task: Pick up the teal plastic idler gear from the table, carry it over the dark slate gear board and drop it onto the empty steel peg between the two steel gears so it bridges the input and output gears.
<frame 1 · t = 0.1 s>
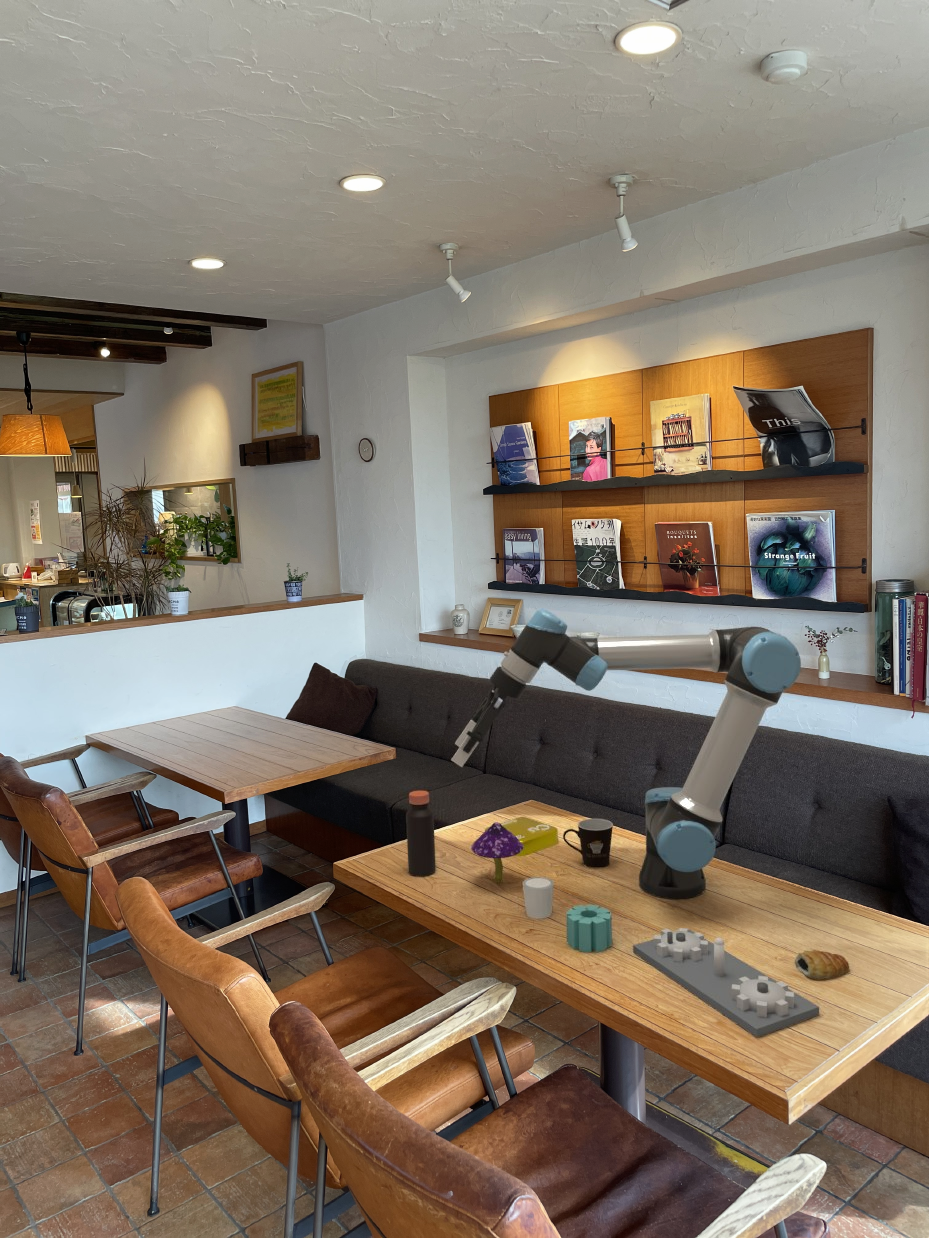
hand: (458, 754, 197), 36 cm above the table, tool tilted 35°, fingers open, 13 cm apart
gear board: (719, 981, 168), on the table
idler gear: (589, 941, 186), on the table
pastry: (819, 972, 171), on the table
bottle: (422, 872, 226), on the table
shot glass: (538, 913, 200), on the table
decorative mushroom: (498, 883, 217), on the table
coffee mug: (590, 862, 228), on the table
element tile: (521, 844, 244), on the table
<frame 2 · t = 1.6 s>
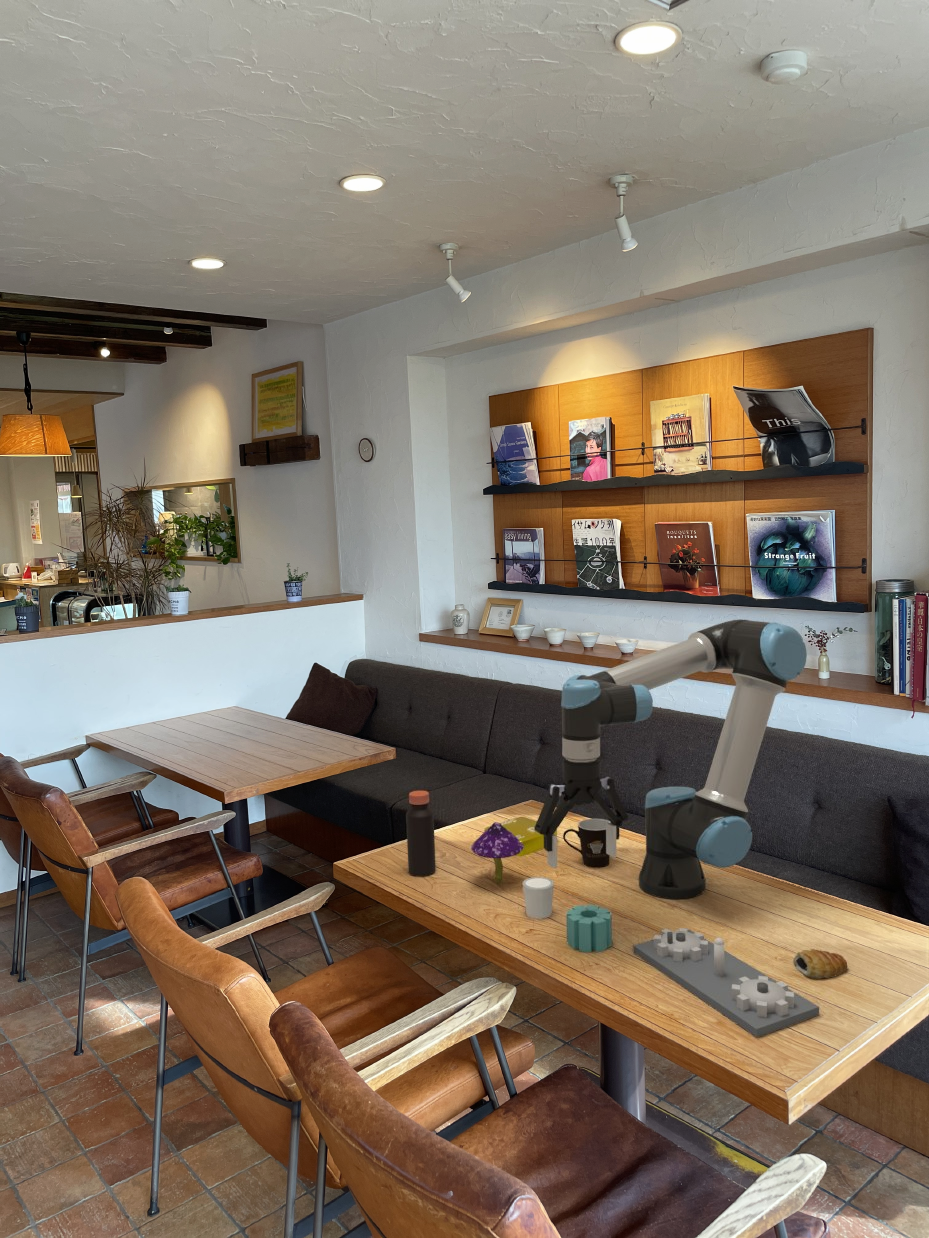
hand: (582, 860, 184), 17 cm above the table, tool pointing down, fingers open, 13 cm apart
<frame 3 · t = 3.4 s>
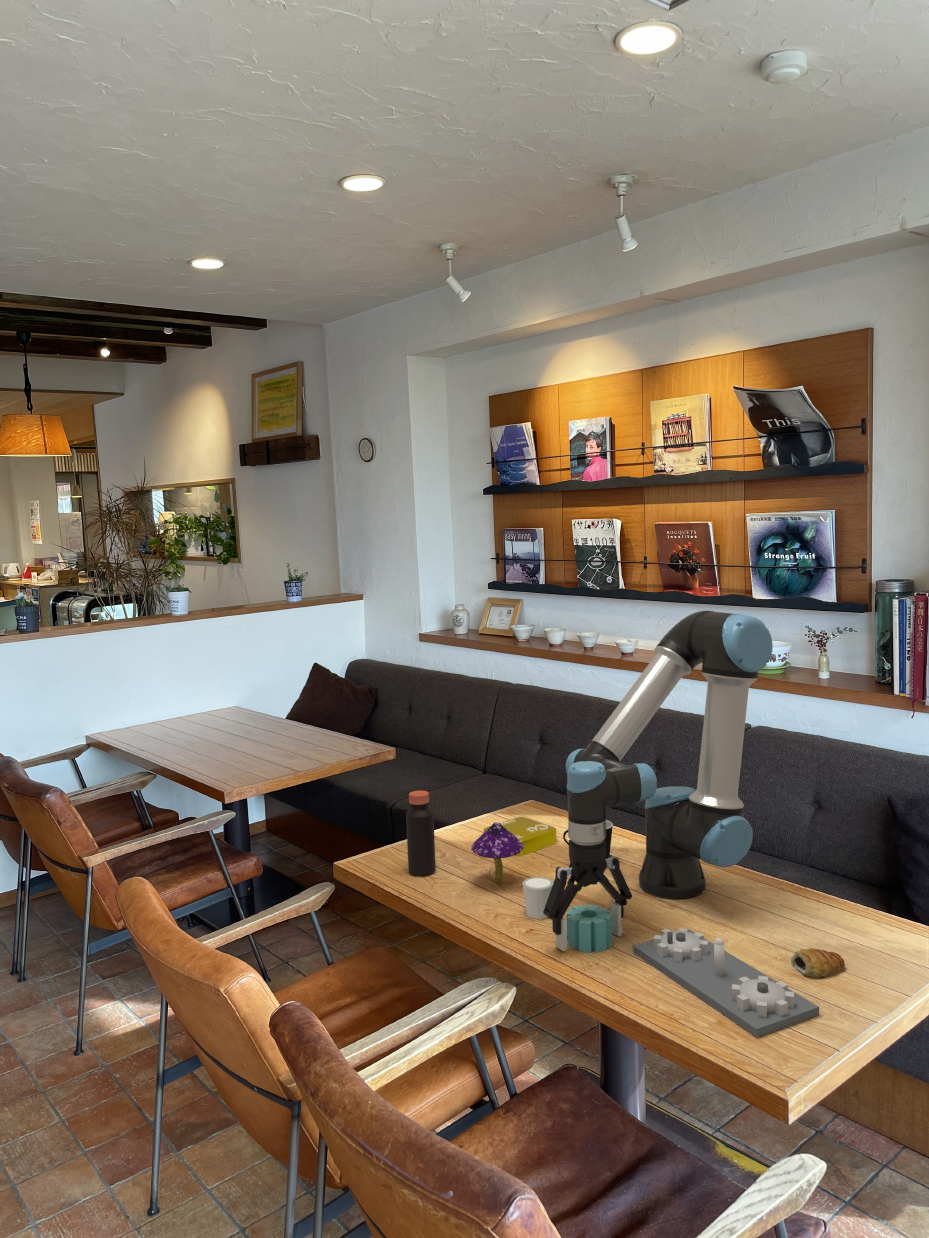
hand: (589, 941, 185), 0 cm above the table, tool pointing down, fingers open, 12 cm apart
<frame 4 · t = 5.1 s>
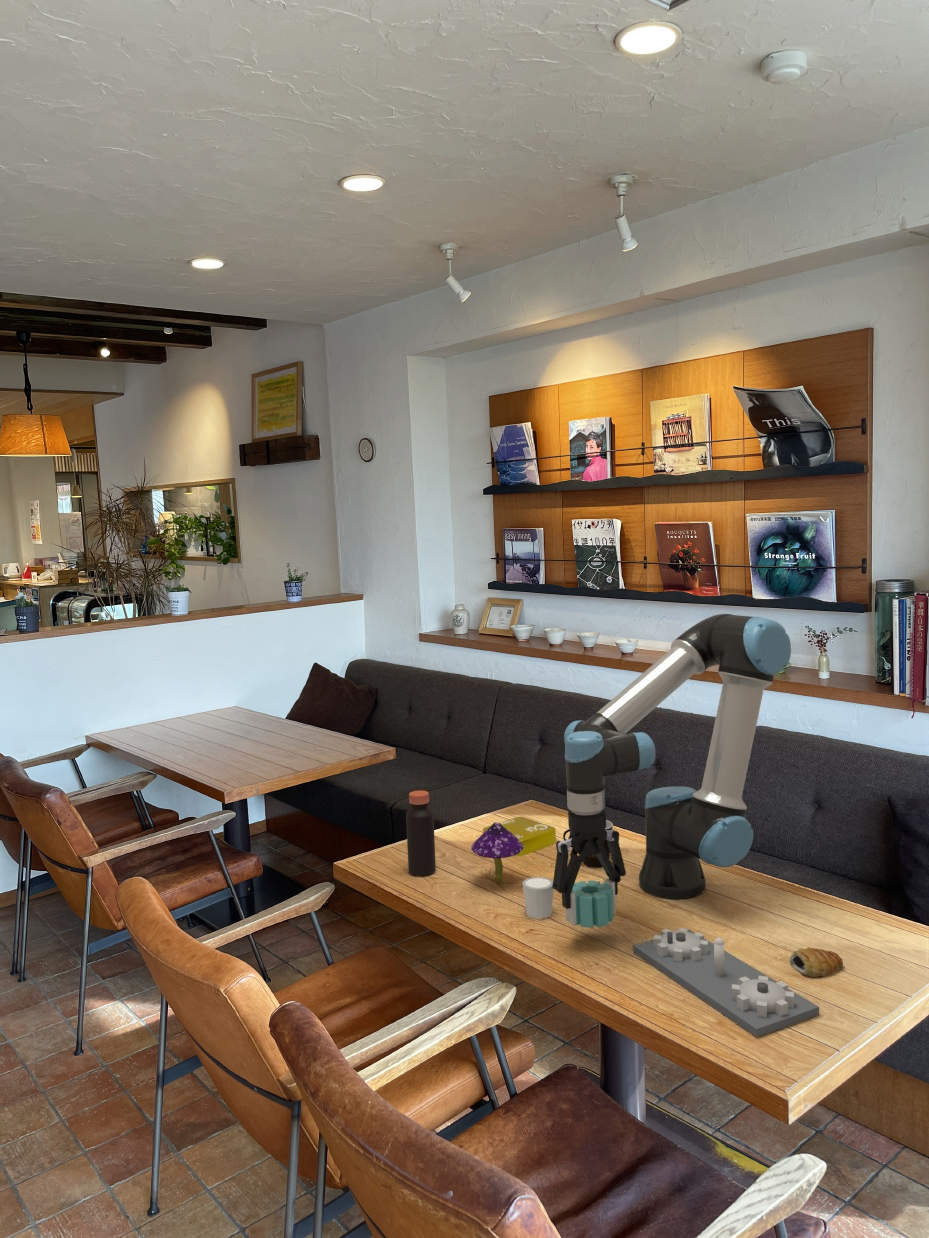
hand: (591, 916, 185), 5 cm above the table, tool pointing down, fingers closed on idler gear, 9 cm apart
idler gear: (591, 917, 185), point 5 cm above the table, touching gripper
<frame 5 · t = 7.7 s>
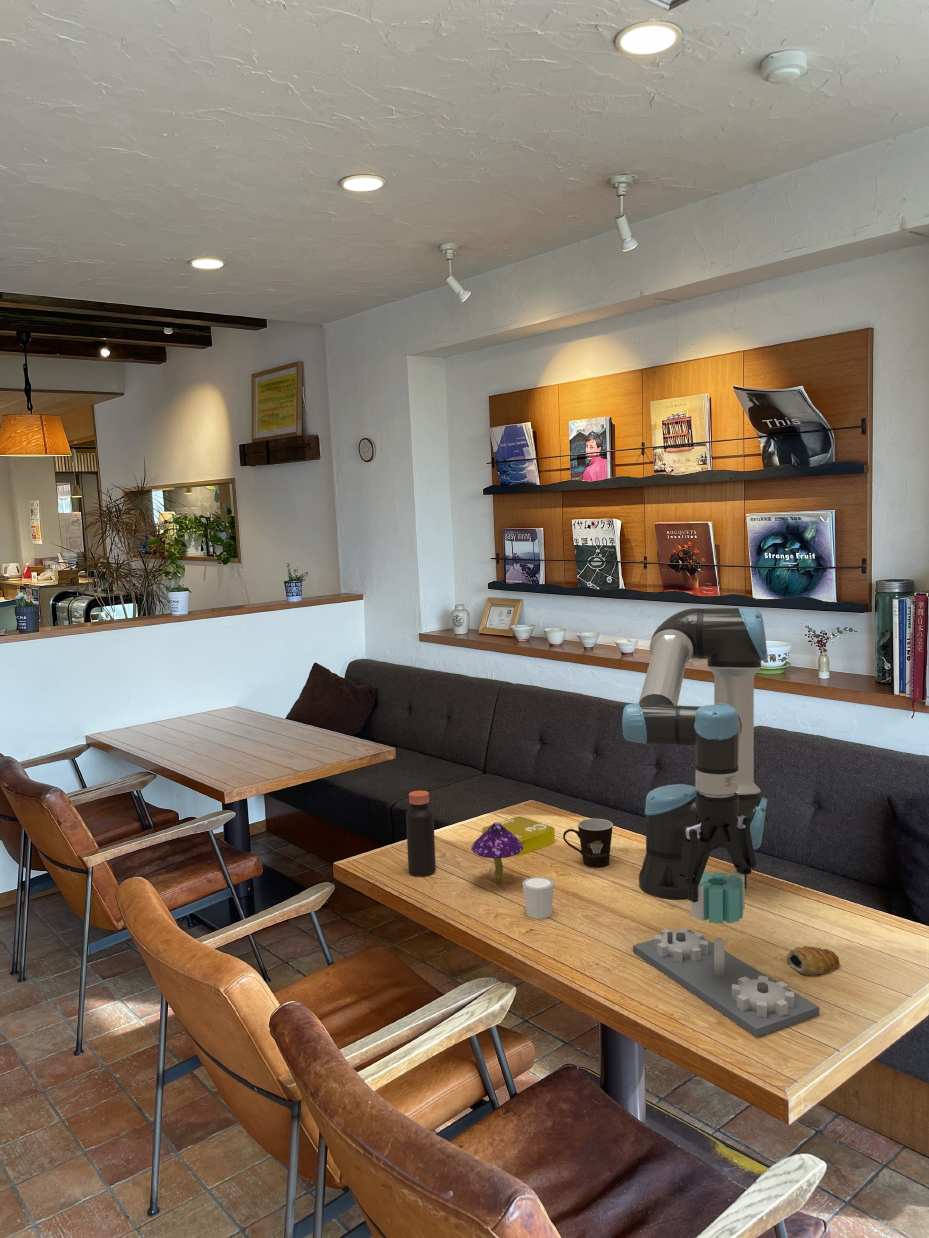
hand: (717, 911, 167), 13 cm above the table, tool pointing down, fingers closed on idler gear, 9 cm apart
idler gear: (717, 912, 167), point 13 cm above the table, touching gripper
when the fingers open (2 cm above the table, at t = 10.5 s): idler gear stays where it is, resting on gear board.
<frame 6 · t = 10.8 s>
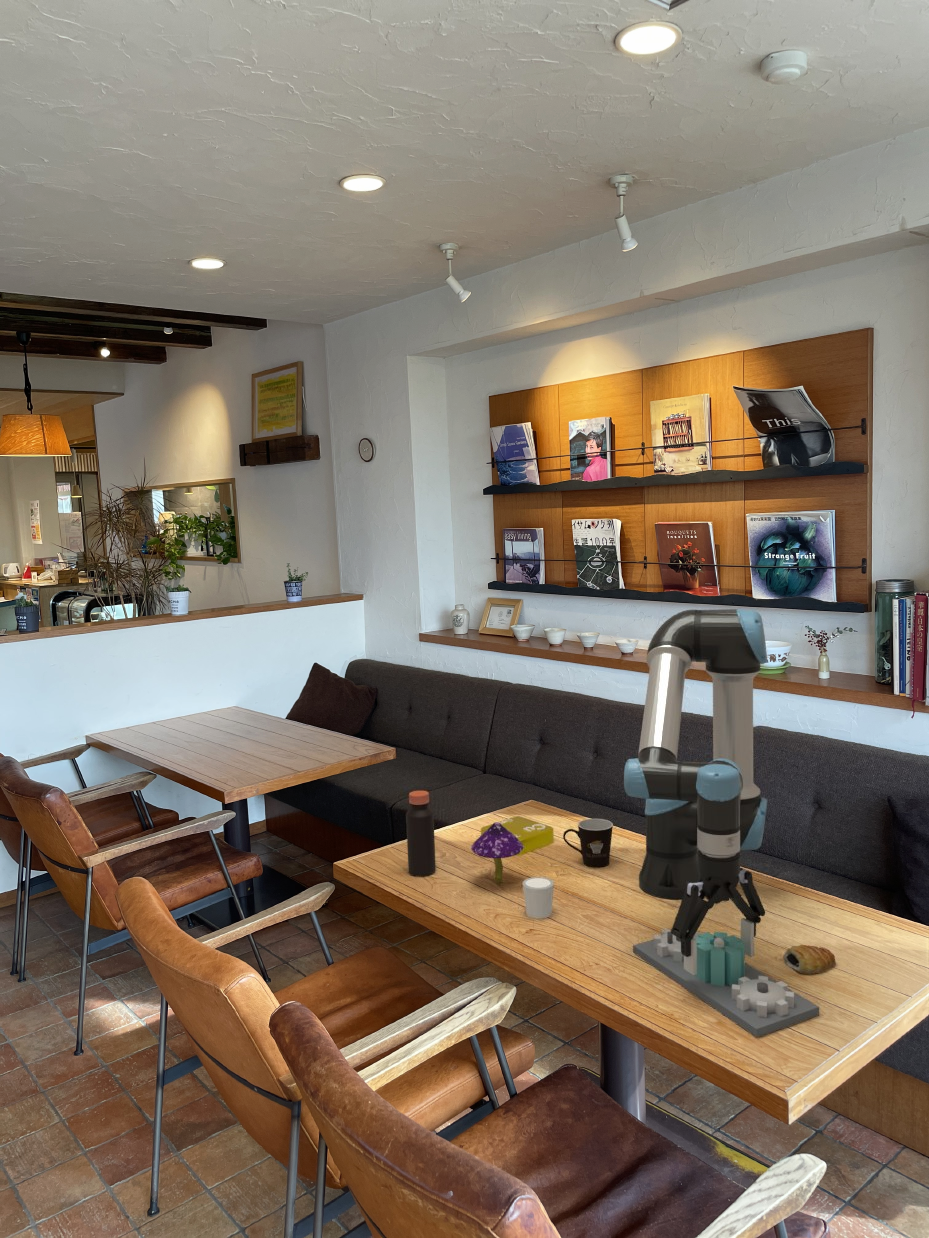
hand: (719, 962, 168), 4 cm above the table, tool pointing down, fingers open, 13 cm apart
idler gear: (719, 973, 168), point 1 cm above the table, touching gear board
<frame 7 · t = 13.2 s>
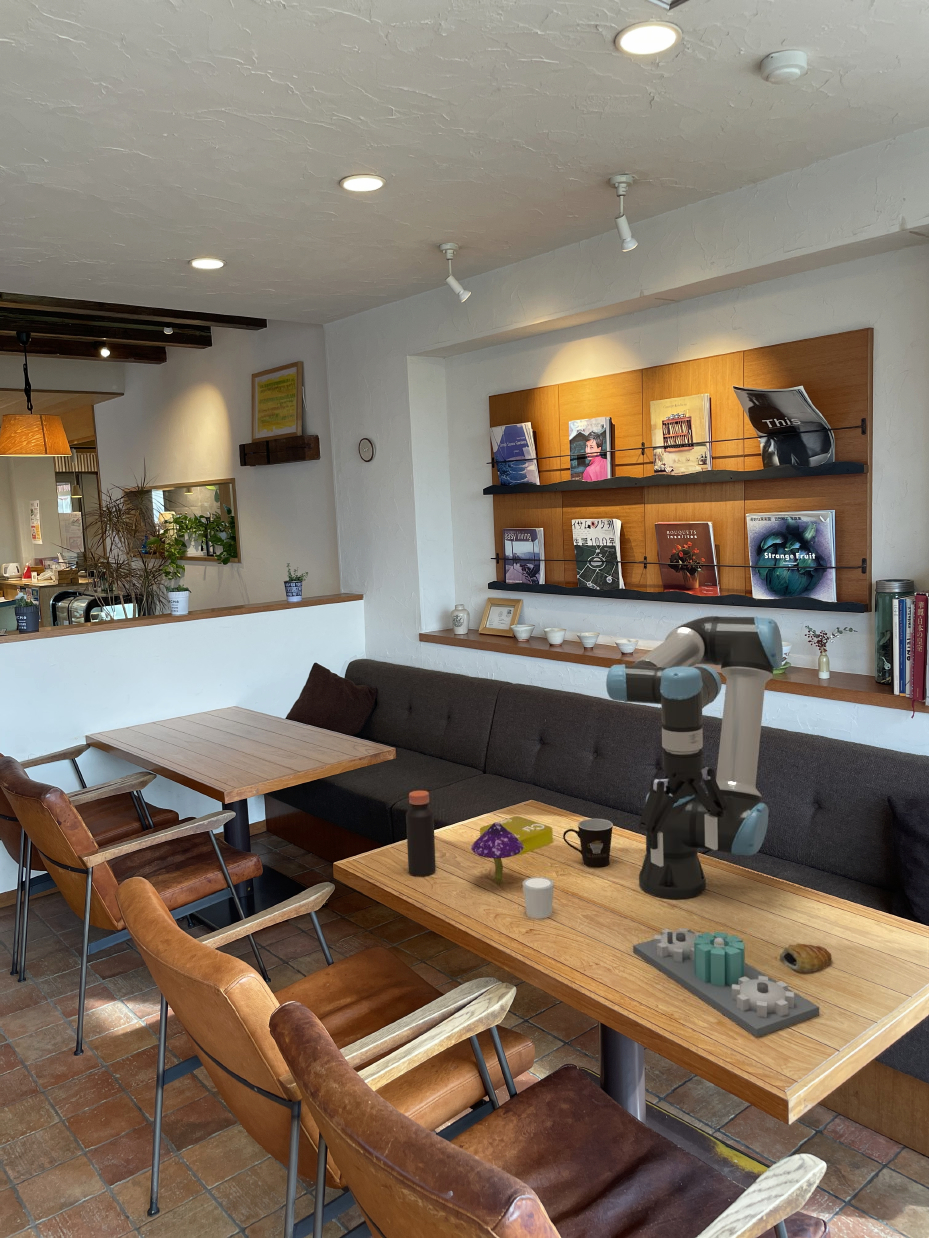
hand: (684, 855, 176), 20 cm above the table, tool pointing down, fingers open, 13 cm apart
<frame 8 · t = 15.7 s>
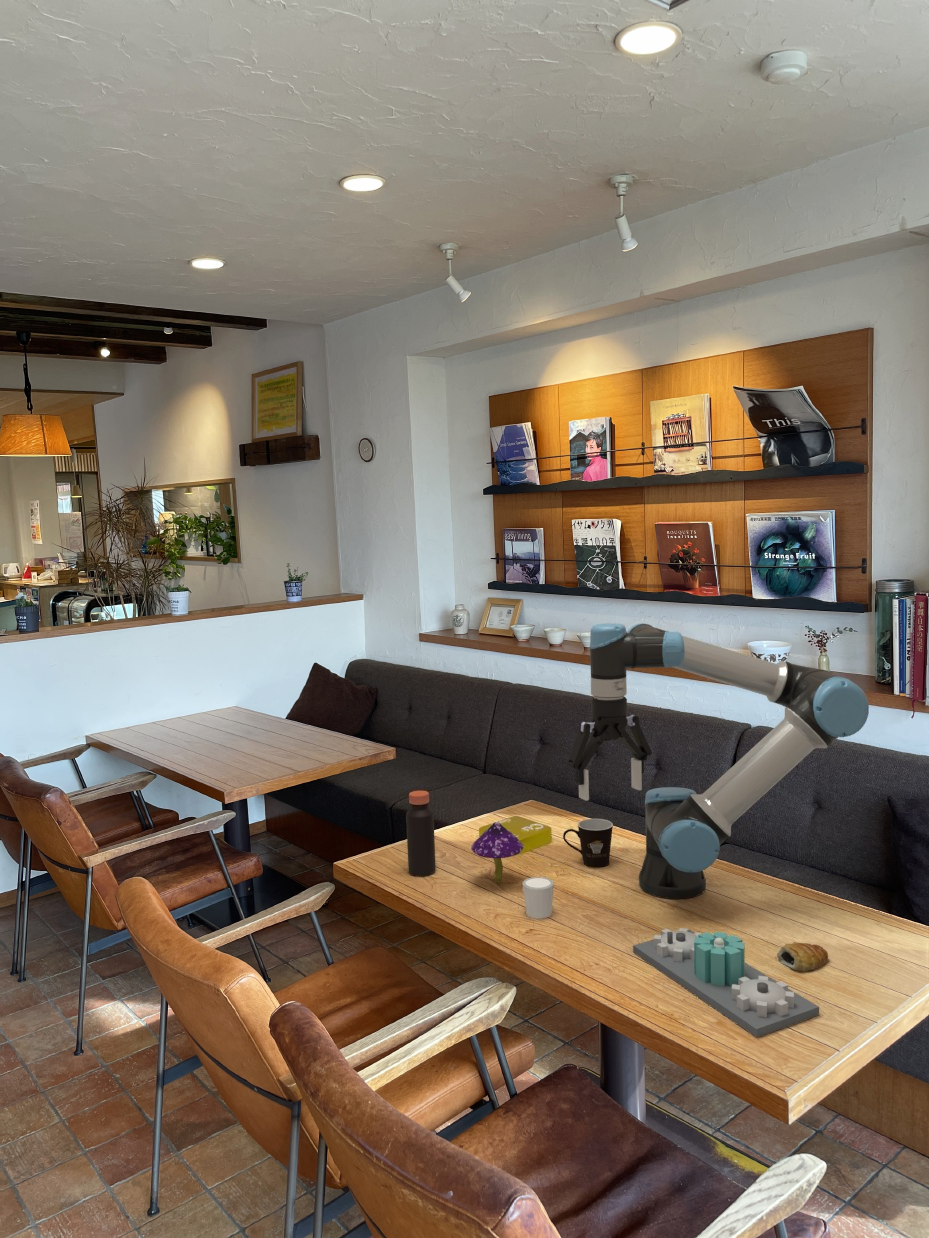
hand: (610, 793, 196), 27 cm above the table, tool pointing down, fingers open, 13 cm apart
at the end: idler gear 0.0 cm from the gear board (horizontally); idler gear point 1.5 cm above the table; the gripper is holding nothing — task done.
